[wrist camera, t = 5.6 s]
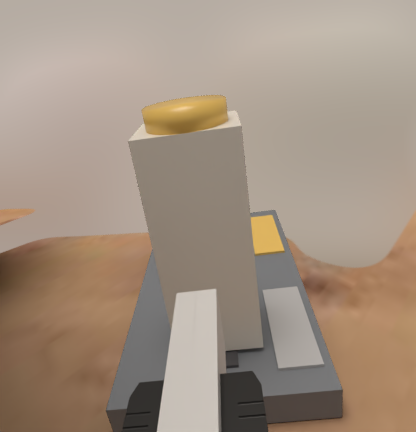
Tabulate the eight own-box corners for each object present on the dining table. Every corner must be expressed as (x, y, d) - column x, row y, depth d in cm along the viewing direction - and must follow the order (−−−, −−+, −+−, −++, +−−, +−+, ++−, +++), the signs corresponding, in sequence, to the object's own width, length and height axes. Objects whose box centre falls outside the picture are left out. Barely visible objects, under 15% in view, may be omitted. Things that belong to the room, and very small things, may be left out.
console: (341, 417, 19) (342, 386, 19) (115, 436, 20) (104, 407, 19) (276, 227, 39) (275, 208, 39) (163, 240, 40) (159, 222, 39)
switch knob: (263, 347, 22) (238, 101, 16) (176, 355, 22) (122, 118, 16) (256, 303, 25) (234, 90, 20) (181, 310, 25) (139, 104, 20)
